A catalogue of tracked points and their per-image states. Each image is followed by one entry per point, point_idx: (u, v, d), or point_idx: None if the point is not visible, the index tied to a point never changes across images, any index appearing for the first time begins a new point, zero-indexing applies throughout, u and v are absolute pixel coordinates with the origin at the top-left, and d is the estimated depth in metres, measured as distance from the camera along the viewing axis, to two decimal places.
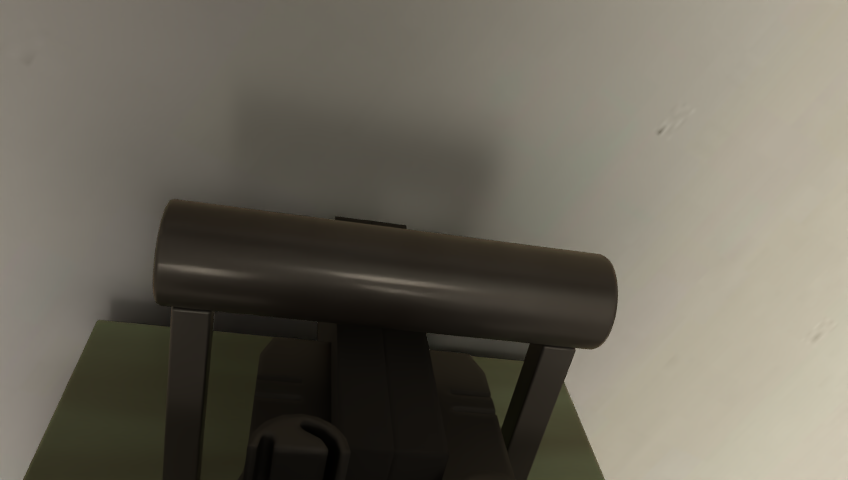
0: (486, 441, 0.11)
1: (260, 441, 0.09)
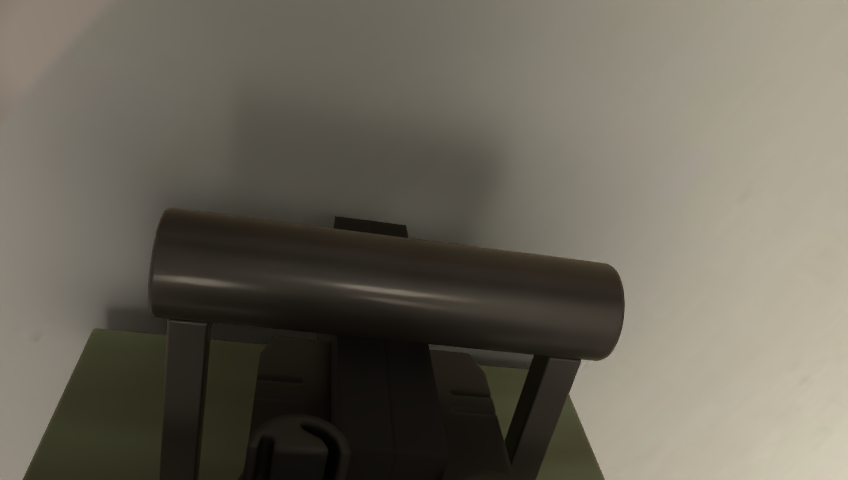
0: (486, 441, 0.11)
1: (260, 441, 0.09)
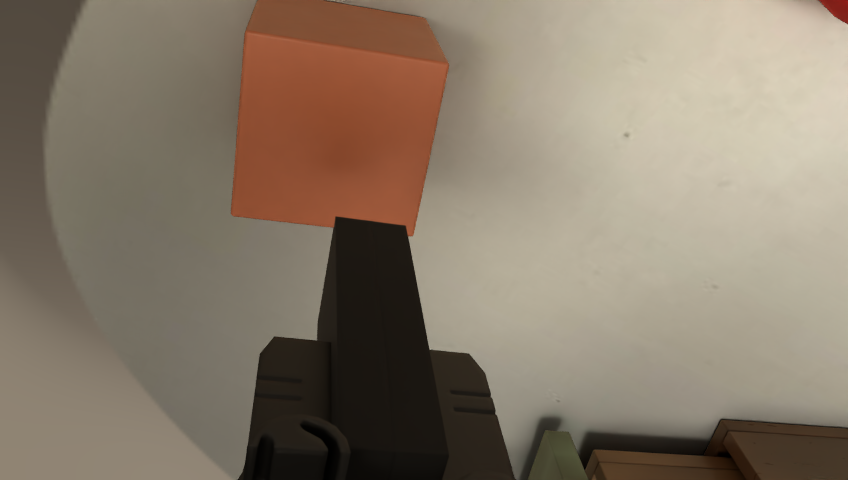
0: (486, 441, 0.11)
1: (260, 441, 0.09)
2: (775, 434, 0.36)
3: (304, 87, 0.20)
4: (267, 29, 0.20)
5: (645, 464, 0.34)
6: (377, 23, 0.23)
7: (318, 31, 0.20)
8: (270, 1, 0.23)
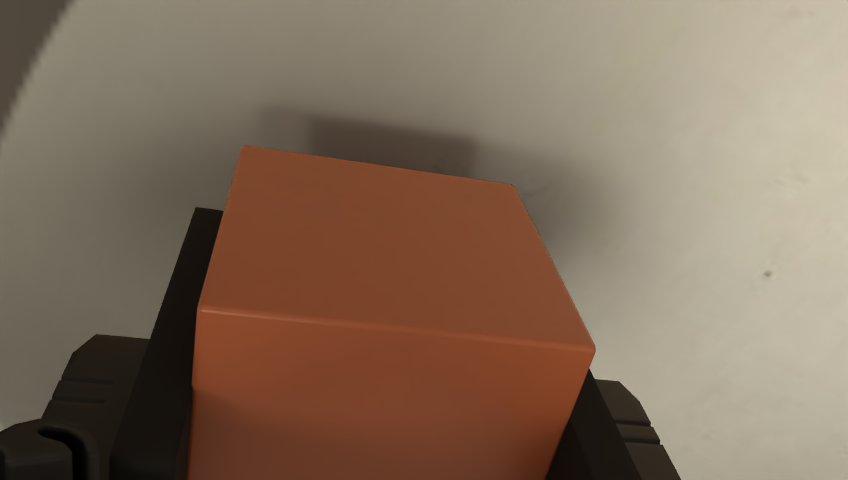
0: (660, 472, 0.11)
1: None
2: None
3: (317, 394, 0.10)
4: (244, 291, 0.10)
5: None
6: (443, 220, 0.13)
7: (344, 276, 0.11)
8: (256, 181, 0.13)
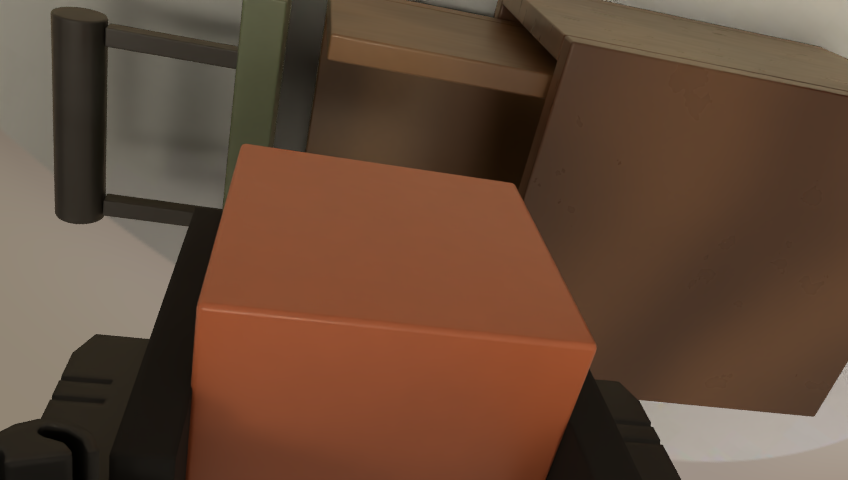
0: (660, 472, 0.11)
1: None
2: None
3: (317, 393, 0.10)
4: (243, 290, 0.10)
5: (392, 2, 0.27)
6: (443, 218, 0.13)
7: (344, 274, 0.11)
8: (255, 179, 0.13)
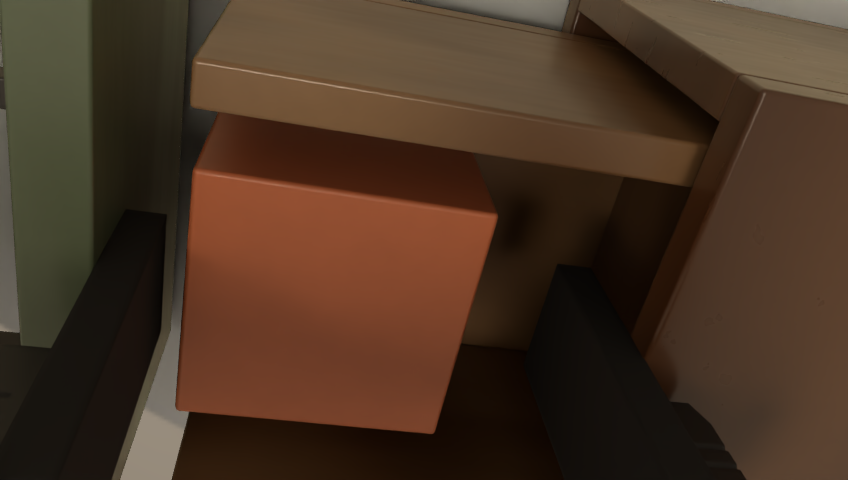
0: None
1: None
2: (681, 0, 0.19)
3: (283, 246, 0.13)
4: (227, 163, 0.13)
5: None
6: None
7: (306, 159, 0.14)
8: None
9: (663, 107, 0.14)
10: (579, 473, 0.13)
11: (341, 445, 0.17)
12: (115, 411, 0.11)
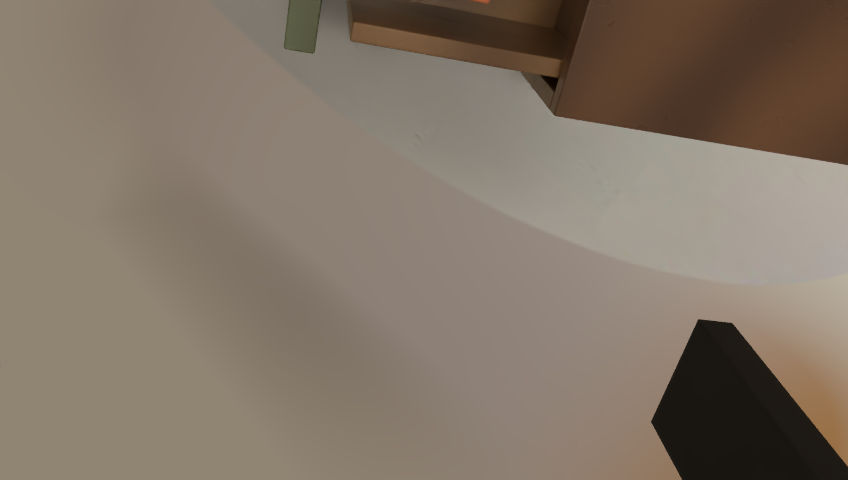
0: None
1: None
2: None
3: None
4: None
5: None
6: None
7: None
8: None
9: None
10: None
11: (435, 25, 0.31)
12: None
